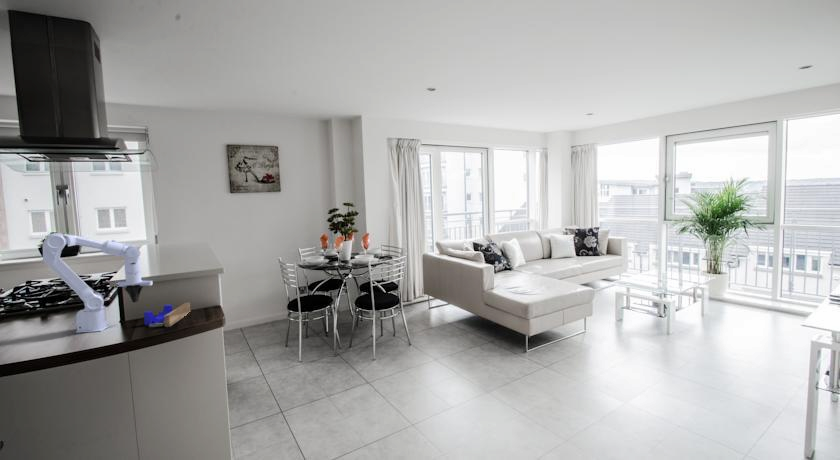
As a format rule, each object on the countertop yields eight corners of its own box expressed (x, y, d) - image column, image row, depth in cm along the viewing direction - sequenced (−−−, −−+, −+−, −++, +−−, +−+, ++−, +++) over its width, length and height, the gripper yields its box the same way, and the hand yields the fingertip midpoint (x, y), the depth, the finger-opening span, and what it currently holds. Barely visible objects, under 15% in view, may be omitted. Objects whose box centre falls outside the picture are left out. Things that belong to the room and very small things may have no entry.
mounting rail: (149, 327, 167) (148, 322, 166) (169, 314, 185) (169, 310, 184) (166, 326, 168) (166, 321, 168) (185, 313, 186) (184, 309, 186)
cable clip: (164, 316, 182) (163, 304, 181) (172, 317, 181) (171, 305, 180) (141, 325, 170) (140, 312, 169) (150, 325, 169) (149, 312, 168)
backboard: (165, 327, 166) (164, 315, 166) (186, 312, 187) (185, 302, 187) (170, 326, 167) (169, 315, 166) (190, 312, 187) (189, 302, 187)
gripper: (155, 269, 177) (157, 298, 178) (120, 271, 175) (122, 300, 176) (147, 272, 170) (149, 302, 171) (110, 274, 168) (113, 304, 169)
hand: (135, 301), depth 173 cm, fingers closed
